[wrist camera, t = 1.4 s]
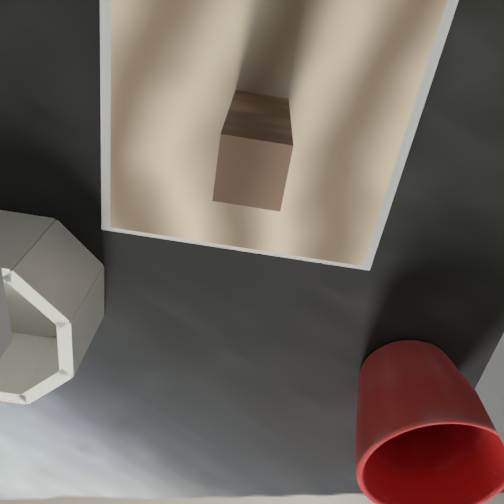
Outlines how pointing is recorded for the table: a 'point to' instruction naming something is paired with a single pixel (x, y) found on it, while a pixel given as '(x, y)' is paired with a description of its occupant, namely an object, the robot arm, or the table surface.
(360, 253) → the lid
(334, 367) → the table surface
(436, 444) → the flower pot
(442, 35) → the tray
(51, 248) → the bowl
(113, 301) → the table surface
